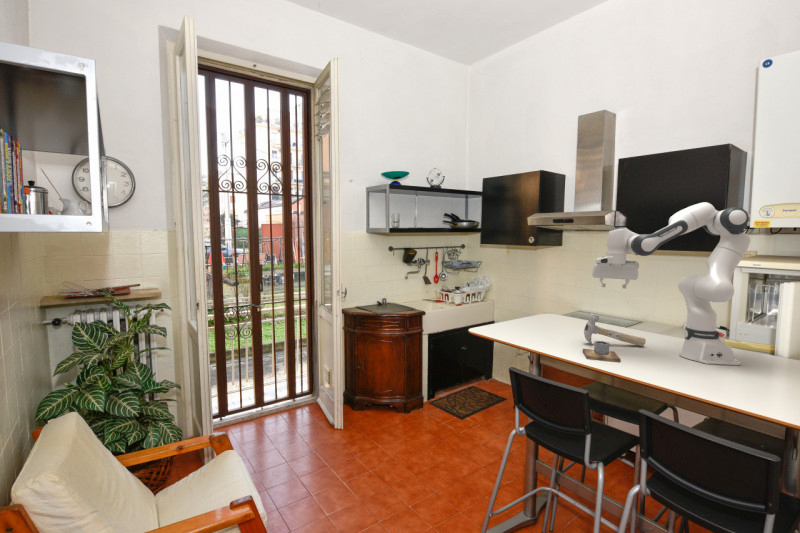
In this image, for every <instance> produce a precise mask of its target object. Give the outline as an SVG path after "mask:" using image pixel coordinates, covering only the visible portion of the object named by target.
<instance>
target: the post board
mask: <svg viewBox="0 0 800 533" xmlns="http://www.w3.org/2000/svg"><path fill="white" fill-rule="evenodd" d="M600 344H603V343H600ZM582 353H583V354H584V356H585V358H586V360H594V361H603V362H614V363H621V361H622V359H621V357H620V356H619V355H618V354H617V353H616V352H615V351H614V350H613V351H612V350H609V355H599V354H595V353H594V348H593V349H591V348H582Z"/></svg>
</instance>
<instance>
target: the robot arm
mask: <svg viewBox="0 0 800 533" xmlns="http://www.w3.org/2000/svg"><path fill="white" fill-rule="evenodd" d="M749 217H750V216H749V213H748V211H747V210H746V209H745V208H742V207H737V206H735V207H733V206H732V207H728V208H727V207H726V209H723V210H717V209H716V208H715V207H714V205H713V204H711V203H710V202H707V201H705V202H704V201H703V202H699V203H696V204H692V205H689V206H687V207H686V208H682V209H680V210H679V211H677V212H675V213H674V214H673V215H672V216H670V217H669V219H668V225H667V226H665V227H663V228H661V229H659V230H656V231H655V232H653V233H649V234H646V233H644V234H639V233H636V232H633V231H632V230H630V229H628V228H627V227H625V226H621V227H614V228H611V229H610V230H609V231H608V235H607V241H606V242H607V243H606V247H607V251H606V253H605V256H601V257H597V258H596V259H595V263H594V265H593V267H592V273H591V276H592V277H593V278H595V279H599V282H600V283H601V288H606V283H604V279H610V280H611V279H613V280H624V281H625V283H624V284H622V287H621V288H622V289H627V286H628V284H630V282H631V281H632V280H633V281H635V280H638V279H639V267H640V264H639V262H638V261H636V260H627V253H629V254H632V255H638V256H640V257H648V256H651V255H653V254H654V253H655V252H656V251H657V250H658V249H659V247H661V246H662V245H664V244H666V243H668V242H669V241H672V240H673V239H675V238H677V237H679V236H682V235H686V234H688V233H690V232H694V231H695V230H697V229H699V228H703V229H704V230H705V232H706V233H708V234H710V235H712V236H716V237H717V236H718V237H719V236H720V239H719V242H718V243H717V245H716V246H715V248H714V249H713V251H712V252H711V254H710V255H709V256H708V258H707V259H706V262H705V264H706V266H707V268H708V270H707V273H706V275H705V276H704V275H698V274H690V275H689V274H688V275H685V276H682V277H681V278H680V280H679V281H678V284H677V287H678V291H679V292H680V293H681V294H682V296H683V298H684V300H685V304H686V309H687V315H686V316H687V317H686V326H685V329H684V335H683V336H684V340H683V345H682V348H681V351H680V353H679V356H681V357H682V358H685V359H688V360H692V361H695V362H699V363H702V364H707V365H726V366H727V365H728V366H730V365H731V366H740V365H741V362H740V361H739V360H738V359H736V358H735V356H734V350H733V348H732V347H731V346H729V345H728V344H726V343H725V341H723V340H721V339H720V338H724V337H725V334H724V332H720V331H718V330H716V328H717V318H718V317H717V316H718V314H717V312H716V311H715V310H714V309H713V307H712V305H711V303H725V302H726V303H727V302H729V301H731V299H732V298H733V296H734V295H735V287H734V285H733V283H732V278H733V274H734V271H735V270H736V268H737V267H738V265H739V264H740V262H741V260H742V259H743V258H744V256H745V254H746V253H747V251H748V249H749V246H750V244H751V238H750V236H749V235H748V234H747V233H745V232H746V231H747V230H748V224H749V219H750V218H749Z"/></svg>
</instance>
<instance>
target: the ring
mask: <svg viewBox="0 0 800 533" xmlns="http://www.w3.org/2000/svg"><path fill="white" fill-rule="evenodd" d="M593 343H594V344H593V350H594V353H595V354H599V355H609V351H610V343H609V342H607V341H602V340H595V341H594V342H593ZM600 343H603V344H600Z"/></svg>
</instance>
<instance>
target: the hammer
mask: <svg viewBox="0 0 800 533" xmlns="http://www.w3.org/2000/svg"><path fill="white" fill-rule="evenodd" d="M599 320H600V316H599V315H598V314H595V313H592V312H590V313H589V315H588V321H587V322H586V324H585V326H584V329H583V334H584V338H585V340H586V342H588V343H589V344H590V345H591V346H594V344H593V341H592V335H593V334H594V335H602V336H605V337H608V338H612V339H614V340H617V341H620V342H624V343H627V344H631V345H635V346H637V347H642V348H643V347H644V346H645V344H646V338H645V337H641V336H638V335H637V336H635V335H631V334H627V333H623V332H620V331H617V330H612V329H608V328H604V327H600V326H598V325H596V323H597V322H599Z"/></svg>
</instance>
